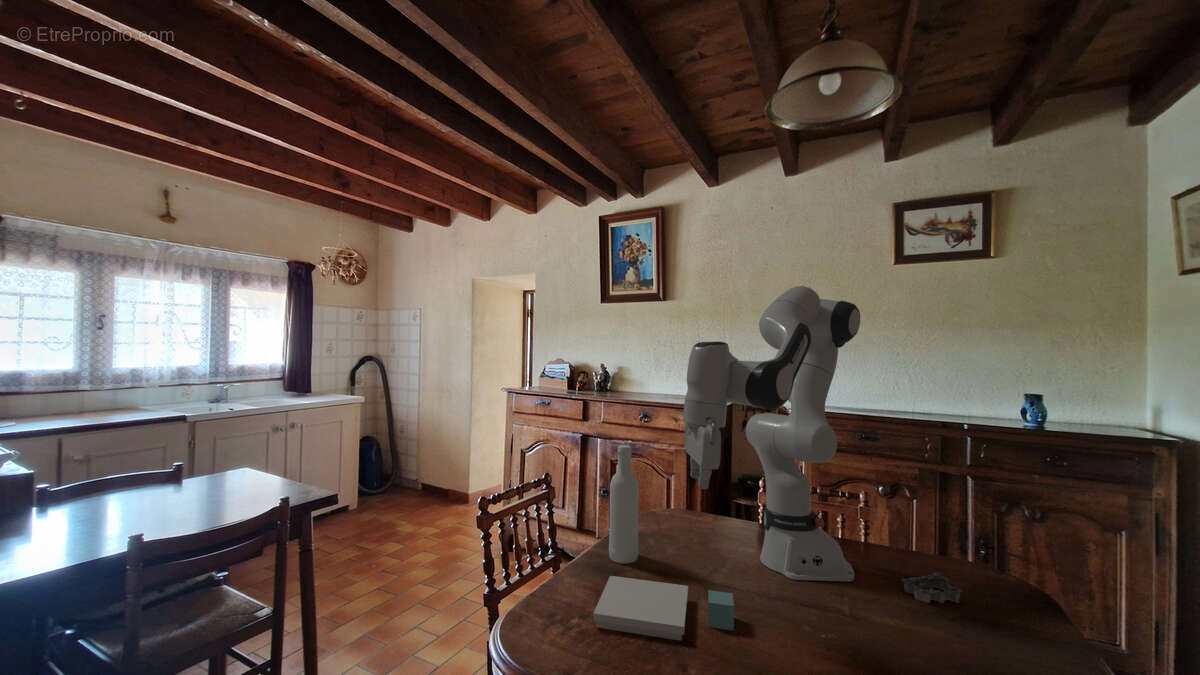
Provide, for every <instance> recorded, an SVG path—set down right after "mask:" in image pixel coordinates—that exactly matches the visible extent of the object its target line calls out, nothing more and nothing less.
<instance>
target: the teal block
mask: <svg viewBox="0 0 1200 675" xmlns="http://www.w3.org/2000/svg"><path fill="white" fill-rule="evenodd" d="M707 592H708V602H707V603H708V607H707V608H708V609H707V610H708V612H707V614H708V615H707V616H708V617H707V620H708V621H707V622H708V624H707V625H708V628H711V629H712V628H714V629H719V630H727V631H735V601H734V593H733V592H725V591H718V590H709V589H708V591H707Z"/></svg>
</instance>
